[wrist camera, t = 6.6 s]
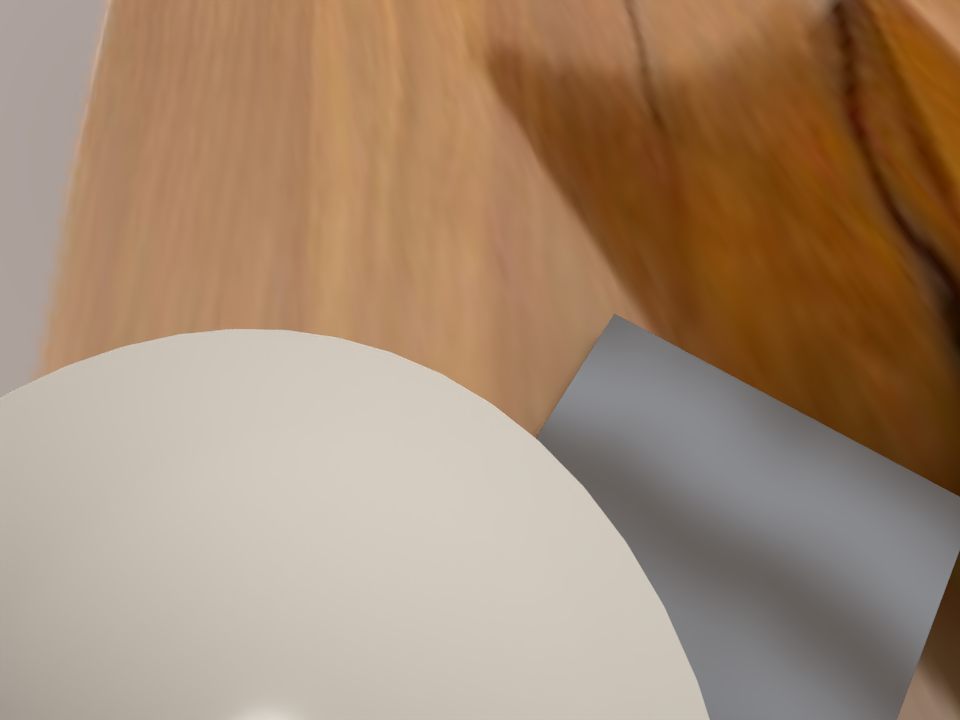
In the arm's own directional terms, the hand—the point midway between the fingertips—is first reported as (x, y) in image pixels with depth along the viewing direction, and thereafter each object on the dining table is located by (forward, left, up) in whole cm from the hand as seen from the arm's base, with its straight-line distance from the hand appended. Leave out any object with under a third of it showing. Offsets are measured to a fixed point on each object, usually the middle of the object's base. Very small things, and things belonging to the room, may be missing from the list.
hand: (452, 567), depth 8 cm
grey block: (+4, -5, -14) cm, 15 cm away
